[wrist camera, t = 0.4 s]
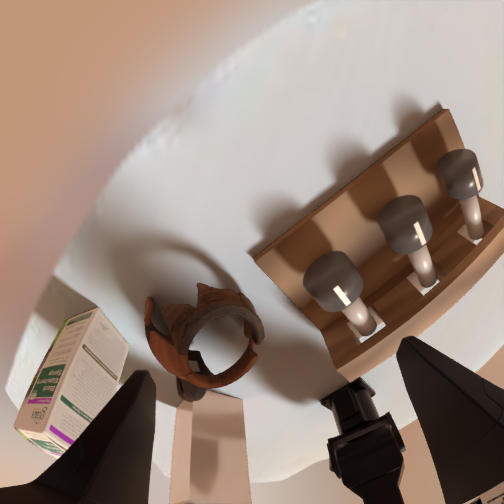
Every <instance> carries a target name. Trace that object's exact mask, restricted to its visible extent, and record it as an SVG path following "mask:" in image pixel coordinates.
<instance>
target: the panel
mask: <svg viewBox="0 0 504 504" xmlns="http://www.w3.org/2000/svg"><path fill="white" fill-rule="evenodd" d="M457 149H465V148H464V145H463V142H462V139H461V137H460V134H459V132H458V129H457V127H456V124H455V122H454V119H453V117H452V115H451V113H450V110H449V109H442V110H441V111H440V112H439V113H437V114H436V115H435V116H434V117H432V118H431V119H430V120H429V121H427V122H426V123H425V124H424V125H422V126H421V127H420V128H419V129H417V130H416V131H415V132H414V133H412V134H411V135H410V136H408V137H407V138H406V139H405V140H403V141H402V142H401V143H400V144H398V145H397V146H396V147H395V148H393V149H392V150H391V151H390V152H388V153H387V154H386V155H384V156H383V157H382V158H381V159H379V160H378V161H377V162H376V163H374V164H373V165H372V166H371V167H369V168H368V169H367V170H365V171H364V172H363V173H362V174H360V175H359V176H358V177H357V178H355V179H354V180H353V181H351V182H350V183H349V184H348V185H346V186H345V187H344V188H343V189H341V190H340V191H339V192H337V193H336V194H335V195H334V196H332V197H331V198H330V199H328V200H327V201H326V202H325V203H323V204H322V205H321V206H319V207H318V208H317V209H316V210H314V211H313V212H312V213H311V214H309V215H308V216H307V217H305V218H304V219H303V220H302V221H300V222H299V223H298V224H296V225H295V226H294V227H293V228H291V229H290V230H289V231H287V232H286V233H285V234H284V235H282V236H281V237H280V238H278V239H277V240H276V241H275V242H273V243H272V244H271V245H269V246H268V247H267V248H265V249H264V250H263V251H262V252H260V253H259V254H258V255H256V256H255V257H254V262H255V263H256V264H257V265H258V266H259V267H260V268H261V269H262V271H263V272H264V273H265V274H266V275H267V276H268V277H269V278H270V279H271V280H272V281H273V282H274V283H275V284H276V285H277V286H278V287H279V288H280V289H281V290H282V291H283V292H284V293H285V294H286V295H287V296H288V297H289V298H290V299H291V301H292V302H293V303H294V304H295V305H296V306H297V307H298V308H299V309H300V310H301V311H302V312H303V313H304V314H305V315H306V316H307V317H308V318H309V319H310V320H311V321H312V322H313V323H314V324H315V325H316V326H317V327H318V328H319V329H320V331H321V333H322V335H323V338H324V340H325V343H326V345H327V348H328V350H329V353H330V355H331V358H332V360H333V363H334V366H335V368H336V370H337V371H338V372H339V373H340V374H341V375H342V376H343V377H345V378H346V379H347V380H348V381H349V382H352V381H353V380H355V379H357V378H358V377H360V376H362V375H363V374H365V373H366V372H368V371H369V370H371V369H372V368H374V367H376V366H377V365H379V364H380V363H381V362H383V361H384V360H386V359H387V358H389V357H390V356H392V355H393V354H394V353H396V352H397V350H398V348H399V345H400V342H401V340H402V339H403V338H404V337H407V336H414V337H417V336H418V335H420V334H421V333H422V332H423V331H425V330H426V329H427V328H428V327H429V326H431V325H432V324H433V323H434V322H435V321H437V320H438V319H439V318H440V317H441V316H442V315H443V314H445V313H446V312H447V311H448V310H449V309H450V308H451V307H452V306H453V305H454V304H456V303H457V302H458V301H459V300H460V299H461V298H462V297H463V296H464V295H465V294H466V293H467V292H468V291H469V290H470V289H471V288H472V287H473V286H474V285H475V284H476V283H477V282H478V281H479V280H480V279H481V278H482V277H483V276H484V274H485V273H486V272H487V271H488V270H489V269H490V268H491V267H492V266H493V264H494V263H495V262H496V261H497V260H498V259H499V258H500V256H501V255H502V254H503V253H504V209H503V208H501V207H499V206H497V205H495V204H493V203H491V202H489V201H487V200H485V199H483V198H481V197H479V194H477V199H478V204H479V208H480V213H481V217H482V222H483V228H484V235H483V236H482V237H481V238H482V240H481V241H480V242H479V243H478V245H475V244H474V243H472V242H473V241H474V240H473V239H471V238H470V237H469V235H468V231H467V227H466V222H465V219H464V215H463V211H462V207H461V204H460V200H459V199H454V198H451V197H450V196H448V194H447V193H446V190H445V187H444V185H443V182H442V179H441V177H440V174H439V171H438V169H437V162H438V160H439V159H440V158H441V157H442V156H443V155H445V154H446V153H448V152H450V151H453V150H457ZM404 195H415V196H417V197H419V198H420V199H421V200H422V202H423V205H424V207H425V210H426V212H427V215H428V217H429V220H430V223H431V225H432V229H433V232H432V236H431V238H430V240H429V241H428V243H427V244H426V246H427V248H428V251H429V254H430V257H431V260H432V263H433V266H434V269H435V272H436V275H437V279H438V280H439V281H440V282H439V283H438V284H437V285H436V286H434V287H433V288H432V289H431V290H430V291H429V292H428V293H426V294H425V295H424V296H423V295H422V294H421V293H420V291H422V290H423V289H424V288H425V287H422V286H421V285H420V283H419V281H418V278H417V276H416V273H415V271H414V268H413V266H412V264H411V261H410V259H409V257H408V255H407V254H400V253H397V252H395V251H393V250H392V249H391V247H390V245H389V243H388V241H387V239H386V237H385V235H384V234H383V232H382V230H381V228H380V226H379V224H378V221H377V218H378V214H379V212H380V211H381V209H382V208H383V207H384V206H385V205H386V204H387V203H388V202H390V201H391V200H393V199H395V198H397V197H400V196H404ZM331 251H342V252H344V253H345V254H346V255H347V256H348V257H349V259H350V260H351V262H352V263H353V265H354V266H355V268H356V269H357V271H358V272H359V274H360V276H361V277H362V279H363V288H362V291H361V293H360V295H359V297H360V299H361V300H362V301H363V303H364V304H365V306H366V307H367V309H368V310H369V312H370V313H371V315H372V316H373V318H374V319H375V321H376V323H377V325H379V324H380V323H381V322H384V323H385V325H386V326H385V327H384V328H382V329H381V330H380V331H378V332H377V333H375V334H374V335H373V336H371V337H370V338H368V339H367V340H365V341H364V342H363V343H360V341H359V338H360V337H362V335H360V333H359V332H358V331H357V330H356V328H355V327H354V326H353V325H352V323H351V322H350V321H349V320H348V318H347V317H346V316H345V315H344V313H343V312H342V311H337V312H328V311H326V310H324V309H323V308H322V307H321V306H320V305H319V304H318V303H317V302H316V300H315V299H314V298H313V297H312V296H311V295H310V294H309V293H308V291H307V290H306V289H305V288H304V286H303V277H304V274H305V272H306V271H307V269H308V267H309V266H310V265H311V264H312V263H313V262H314V261H315V260H316V259H317V258H319V257H320V256H322V255H324V254H326V253H328V252H331Z"/></svg>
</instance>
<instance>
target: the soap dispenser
mask: <svg viewBox="0 0 504 504" xmlns="http://www.w3.org/2000/svg"><path fill="white" fill-rule="evenodd" d="M169 504H252V502H251V492H250V481H249V470H248V459H247V448H246V436H245V424H244V411H243V400H242V399H238V398H234V397H230V396H226V395H223V394H219V393H216V392H212V391H209V390H207V391H206V394H205V395H204V397H203V398H202V399H201V400H199V401H194V402H187V401H185V400H183V401H182V402H181V403H180V405H179V406H178V407H177V409H176V418H175V428H174V439H173V450H172V463H171V478H170V496H169Z"/></svg>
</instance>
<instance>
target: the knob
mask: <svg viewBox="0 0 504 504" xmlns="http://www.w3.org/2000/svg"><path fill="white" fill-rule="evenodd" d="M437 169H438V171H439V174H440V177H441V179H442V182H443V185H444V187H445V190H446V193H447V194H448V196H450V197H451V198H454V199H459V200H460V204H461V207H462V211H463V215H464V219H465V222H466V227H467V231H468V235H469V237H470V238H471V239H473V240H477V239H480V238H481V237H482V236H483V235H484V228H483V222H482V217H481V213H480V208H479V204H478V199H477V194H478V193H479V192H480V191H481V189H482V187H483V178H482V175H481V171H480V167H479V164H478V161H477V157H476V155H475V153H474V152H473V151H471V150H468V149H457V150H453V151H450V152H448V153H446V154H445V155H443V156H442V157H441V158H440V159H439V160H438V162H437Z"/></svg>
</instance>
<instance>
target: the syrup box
mask: <svg viewBox="0 0 504 504" xmlns="http://www.w3.org/2000/svg"><path fill="white" fill-rule="evenodd" d="M128 351H129V344H128V343H127V342H126V341H125V339H124V338H123V337H122V335H121V334H120V333H119V332H118V331H117V329H116V328H115V327H114V326H113V325H112V323H111V322H110V321H109V320H108V319H107V317H106V316H105V315H104V313H103V312H102V311H101V310H100V308H99V307H97V308H95V309H93V310H90V311H88V312H85V313H82V314H80V315H77V316H75V317H73V318H70V319H68V320H66V321H65V322H64V324H63V325H62V327H61V329H60V330H59V332H58V334H57V336H56V337H55V339H54V341H53V343H52V344H51V346H50V348H49V350H48V352H47V354H46V355H45V357H44V359H43V361H42V363H41V365H40V367H39V369H38V371H37V373H36V375H35V377H34V379H33V381H32V383H31V385H30V387H29V390H28V392H27V394H26V396H25V398H24V401H23V403H22V406H21V408H20V410H19V413H18V415H17V418H16V420H15V423H14V428H15V429H16V430H17V431H18V432H19V433H20V434H21V435H22V436H23V437H25V438H26V439H27V440H28V441H29V442H31V443H32V444H34V445H35V446H36V447H38V448H39V449H41V450H42V451H44V452H46V453H48V454H49V455H51V456H53V457H55V458H57V459H58V458H59V457H60V456H61V455H62V454H63V453H64V452H65V451H66V450H67V449H68V448H69V447H70V446H71V445H72V444H73V442H74V441H75V440H76V439H77V438H78V437H79V435H80V434H81V433H82V432H83V431H84V430H85V428H86V427H87V426H88V425H89V424H90V423H91V421H92V420H93V419H94V418H95V417H96V416H97V414H98V413H99V412H100V411H101V410H102V409H103V407H104V406H105V405H106V404H107V403H108V402H109V400H110V399H111V398H112V397H113V396H114V395H115V393H116V390H117V387H118V383H119V380H120V376H121V373H122V370H123V367H124V363H125V360H126V357H127V354H128Z"/></svg>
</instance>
